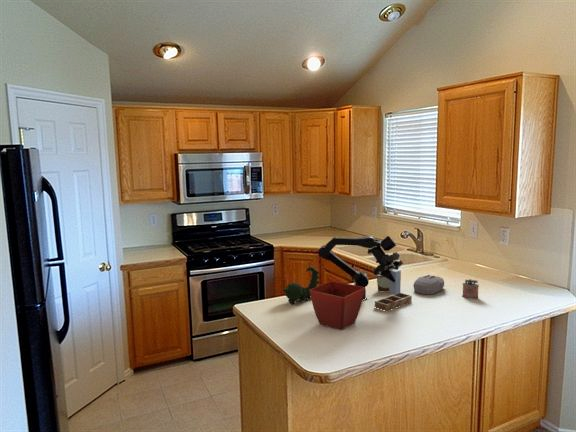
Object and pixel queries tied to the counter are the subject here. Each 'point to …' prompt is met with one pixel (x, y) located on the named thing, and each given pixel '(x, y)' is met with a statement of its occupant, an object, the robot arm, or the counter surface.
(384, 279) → the food container
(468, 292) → the lighter
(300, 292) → the toy figurine
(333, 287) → the plant pot
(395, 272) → the plug block
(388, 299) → the slot organizer
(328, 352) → the counter surface
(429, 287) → the soft grey pack
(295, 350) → the counter surface
